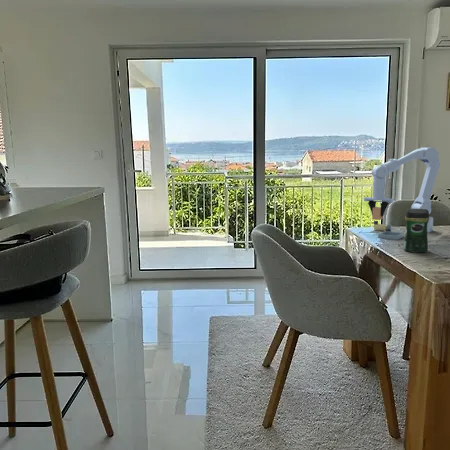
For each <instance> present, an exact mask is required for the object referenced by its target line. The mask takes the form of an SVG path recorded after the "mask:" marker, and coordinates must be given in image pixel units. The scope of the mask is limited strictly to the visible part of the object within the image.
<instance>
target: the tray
mask: <svg viewBox="0 0 450 450" xmlns="http://www.w3.org/2000/svg"><path fill="white" fill-rule="evenodd" d="M377 238H378V239H385V240H392V241H399V240H400V239H402V238H405V232H403V233H399V232H390V231H384V232H382V233H377Z"/></svg>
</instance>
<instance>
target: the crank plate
mask: <svg viewBox="0 0 450 450" xmlns="http://www.w3.org/2000/svg"><path fill="white" fill-rule="evenodd" d="M382 232H384V231H381V230H374V229H373V231H370V233H374V234H380V233H382ZM390 232H399V233H406V230H402V229H401V230H400V229H394V228H393V229H392V228H391V231H390Z"/></svg>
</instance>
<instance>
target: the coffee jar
mask: <svg viewBox="0 0 450 450" xmlns="http://www.w3.org/2000/svg"><path fill="white" fill-rule="evenodd" d="M404 215H405V216H404V220H405V232H404V241H403V250H404V251H406V252H411V253H426V252H428V251H429V242H428V232H427V224H428V221H429V217H430V214H429V211H428V210H427V209H411V208H407V209H406V211H405V214H404Z"/></svg>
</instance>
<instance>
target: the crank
mask: <svg viewBox="0 0 450 450" xmlns="http://www.w3.org/2000/svg"><path fill="white" fill-rule="evenodd" d="M391 229H392V224H390V223H389V224H388V223H387V224H382V223H380V224H379V220H373V231H374V230H381V231H391Z"/></svg>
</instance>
